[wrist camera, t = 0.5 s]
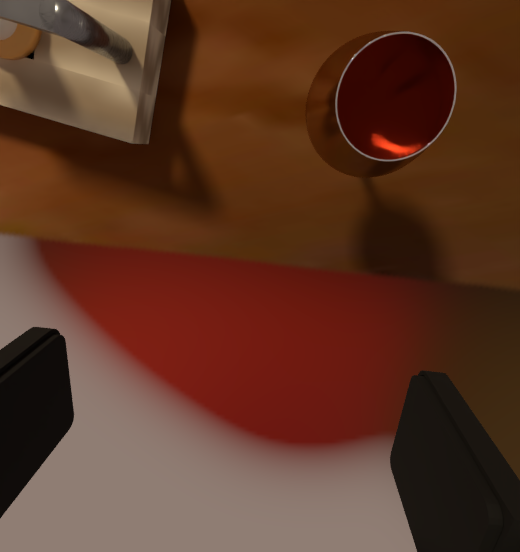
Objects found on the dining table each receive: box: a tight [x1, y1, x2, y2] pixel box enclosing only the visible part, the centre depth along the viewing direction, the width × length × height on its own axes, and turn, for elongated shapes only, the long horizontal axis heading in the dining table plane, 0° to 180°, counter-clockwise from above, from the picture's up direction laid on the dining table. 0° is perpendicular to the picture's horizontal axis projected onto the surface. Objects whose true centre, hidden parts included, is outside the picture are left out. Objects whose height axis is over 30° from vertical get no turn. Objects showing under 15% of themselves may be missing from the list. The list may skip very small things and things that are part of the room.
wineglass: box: [305, 31, 456, 178], centre depth 26 cm, size 8×8×18 cm
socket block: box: [0, 0, 171, 144], centre depth 32 cm, size 14×20×4 cm
